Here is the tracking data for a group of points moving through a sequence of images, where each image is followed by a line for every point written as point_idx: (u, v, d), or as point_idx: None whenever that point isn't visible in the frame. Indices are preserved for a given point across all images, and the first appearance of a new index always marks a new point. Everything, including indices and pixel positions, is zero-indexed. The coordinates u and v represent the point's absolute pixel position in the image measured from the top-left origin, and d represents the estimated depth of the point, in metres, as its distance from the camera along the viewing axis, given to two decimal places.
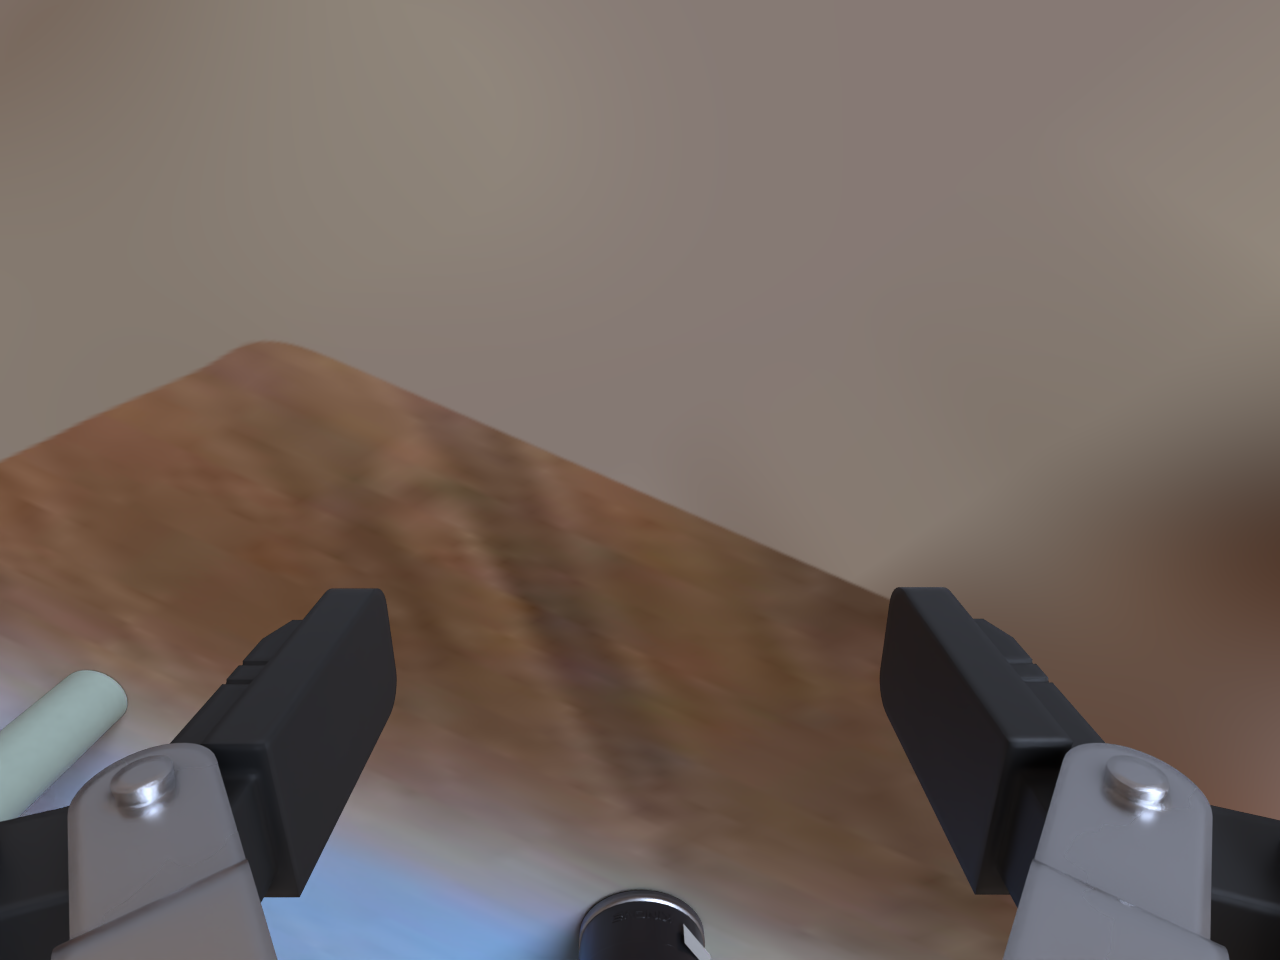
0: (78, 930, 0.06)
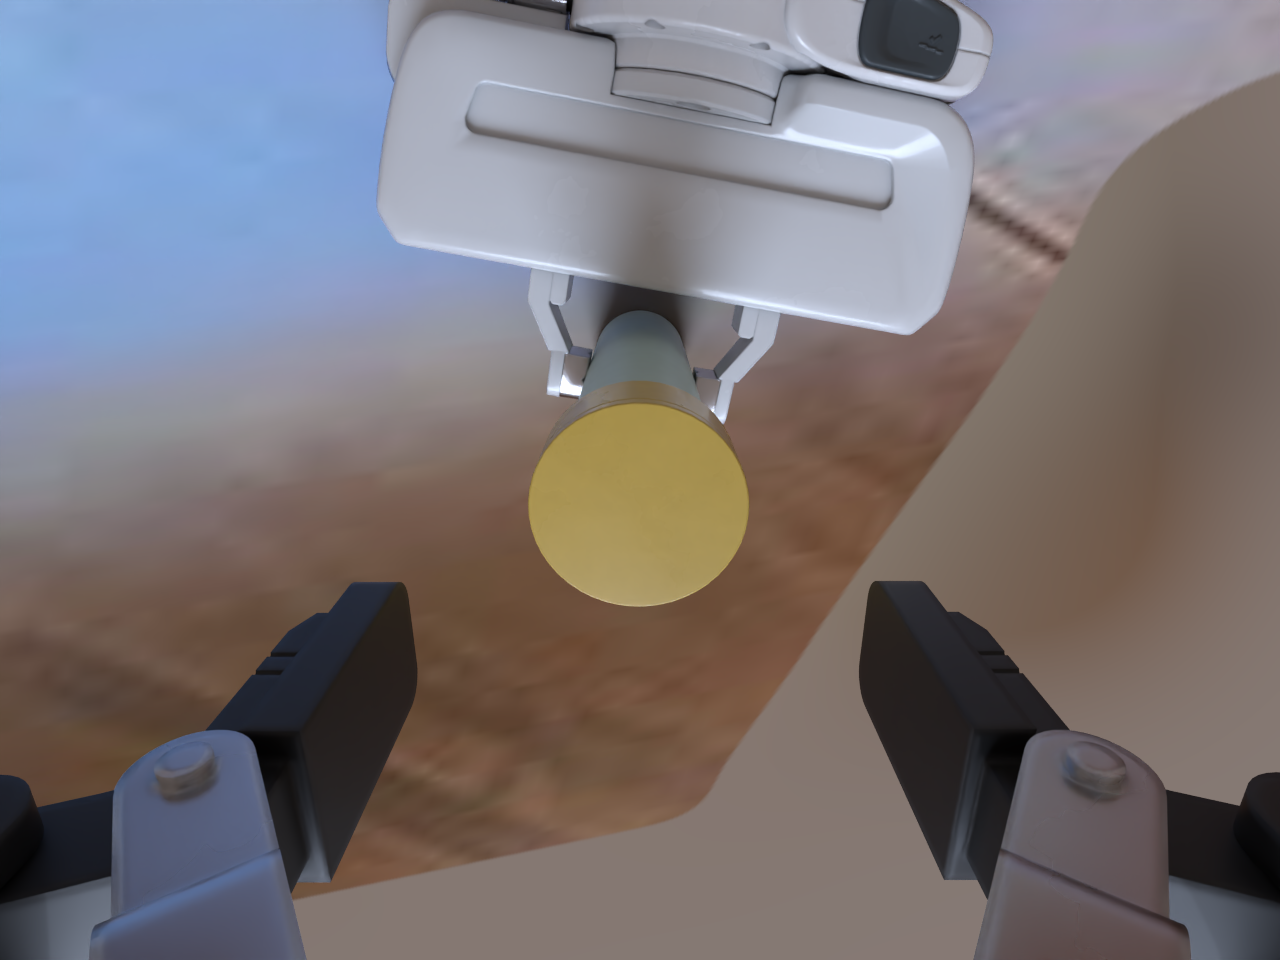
0: (119, 909, 0.06)
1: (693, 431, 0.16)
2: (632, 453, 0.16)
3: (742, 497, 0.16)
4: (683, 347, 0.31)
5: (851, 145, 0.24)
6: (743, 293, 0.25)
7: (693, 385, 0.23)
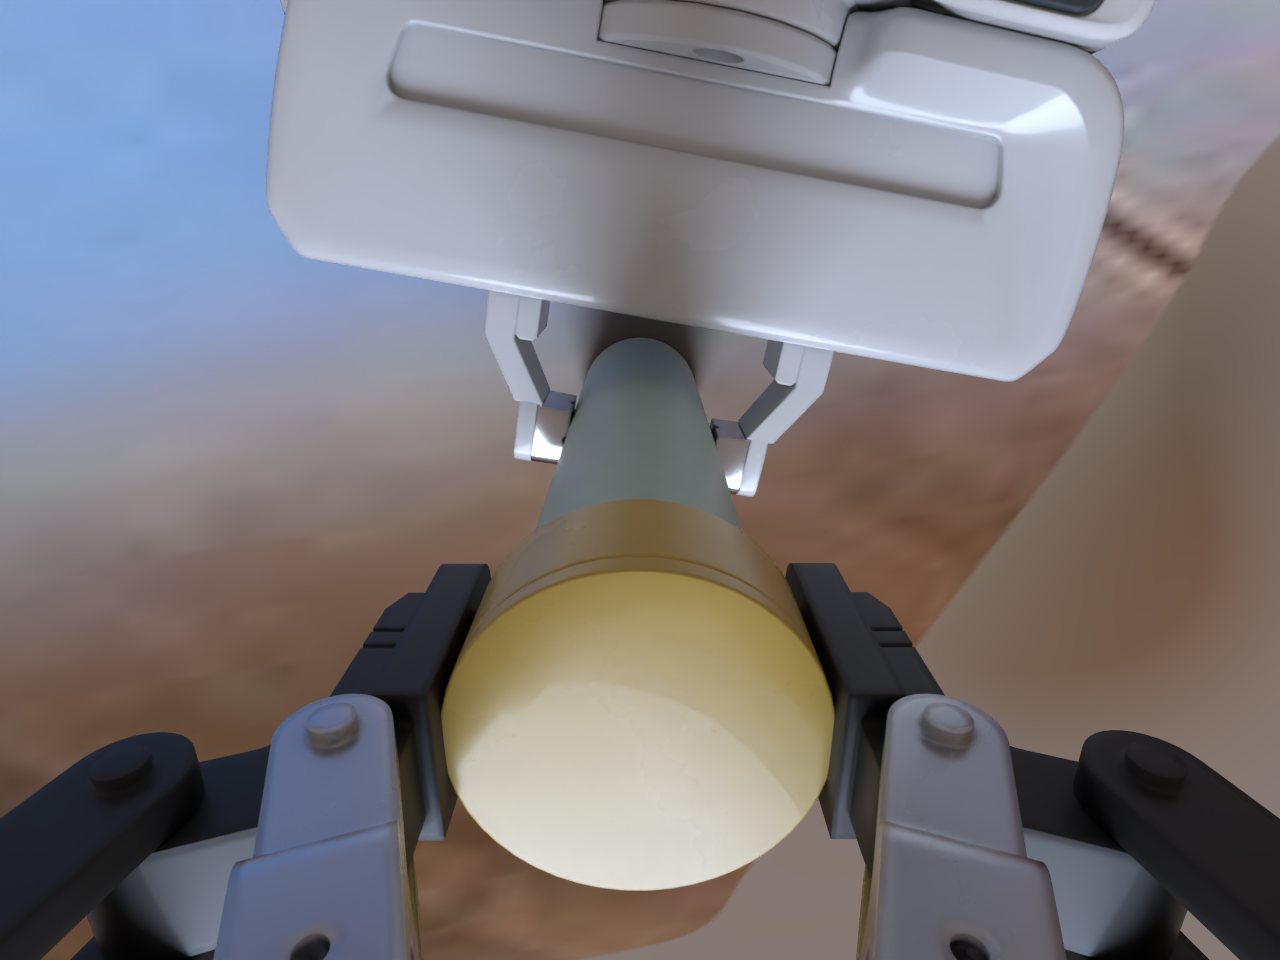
0: (261, 849, 0.06)
1: (739, 618, 0.08)
2: (626, 655, 0.09)
3: (825, 725, 0.09)
4: (696, 388, 0.23)
5: (945, 115, 0.16)
6: (784, 325, 0.18)
7: (718, 464, 0.16)
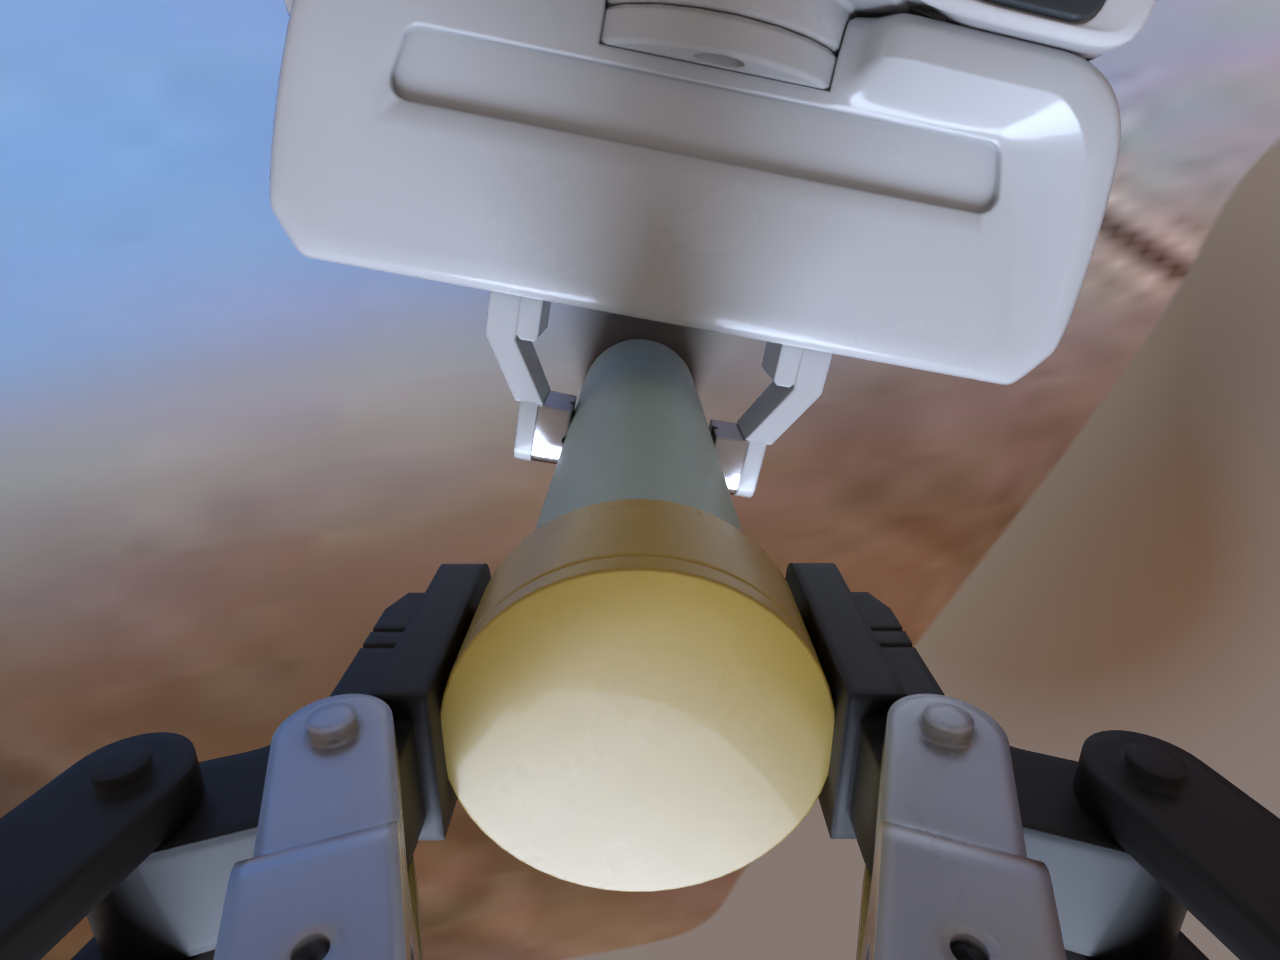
0: (261, 849, 0.06)
1: (480, 669, 0.09)
2: (530, 758, 0.09)
3: (603, 581, 0.08)
4: (695, 389, 0.24)
5: (944, 120, 0.16)
6: (783, 327, 0.18)
7: (717, 464, 0.16)
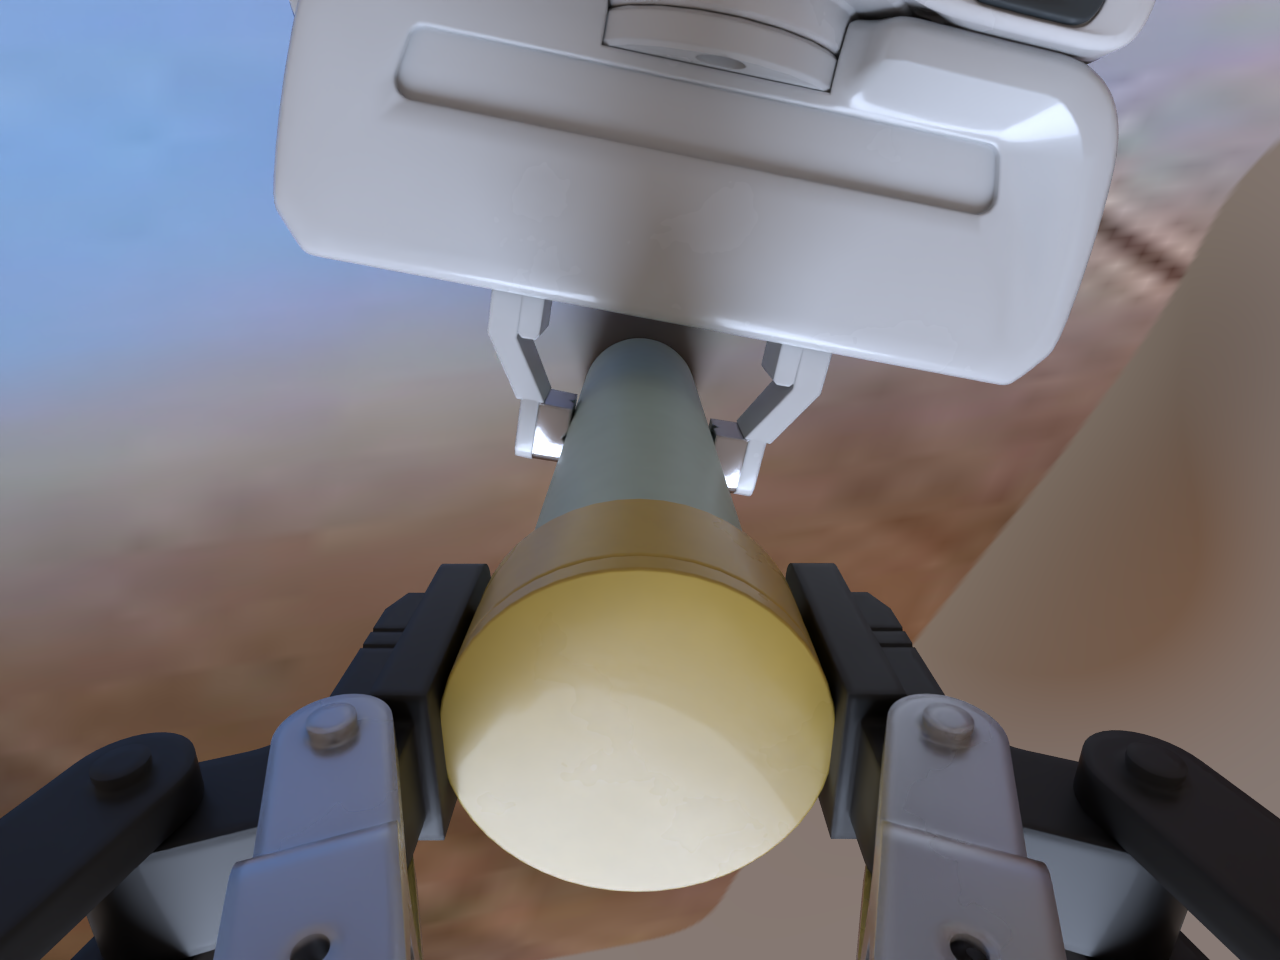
0: (260, 849, 0.06)
1: (557, 860, 0.10)
2: (653, 829, 0.10)
3: (457, 774, 0.09)
4: (695, 388, 0.24)
5: (944, 122, 0.17)
6: (783, 327, 0.18)
7: (716, 462, 0.16)
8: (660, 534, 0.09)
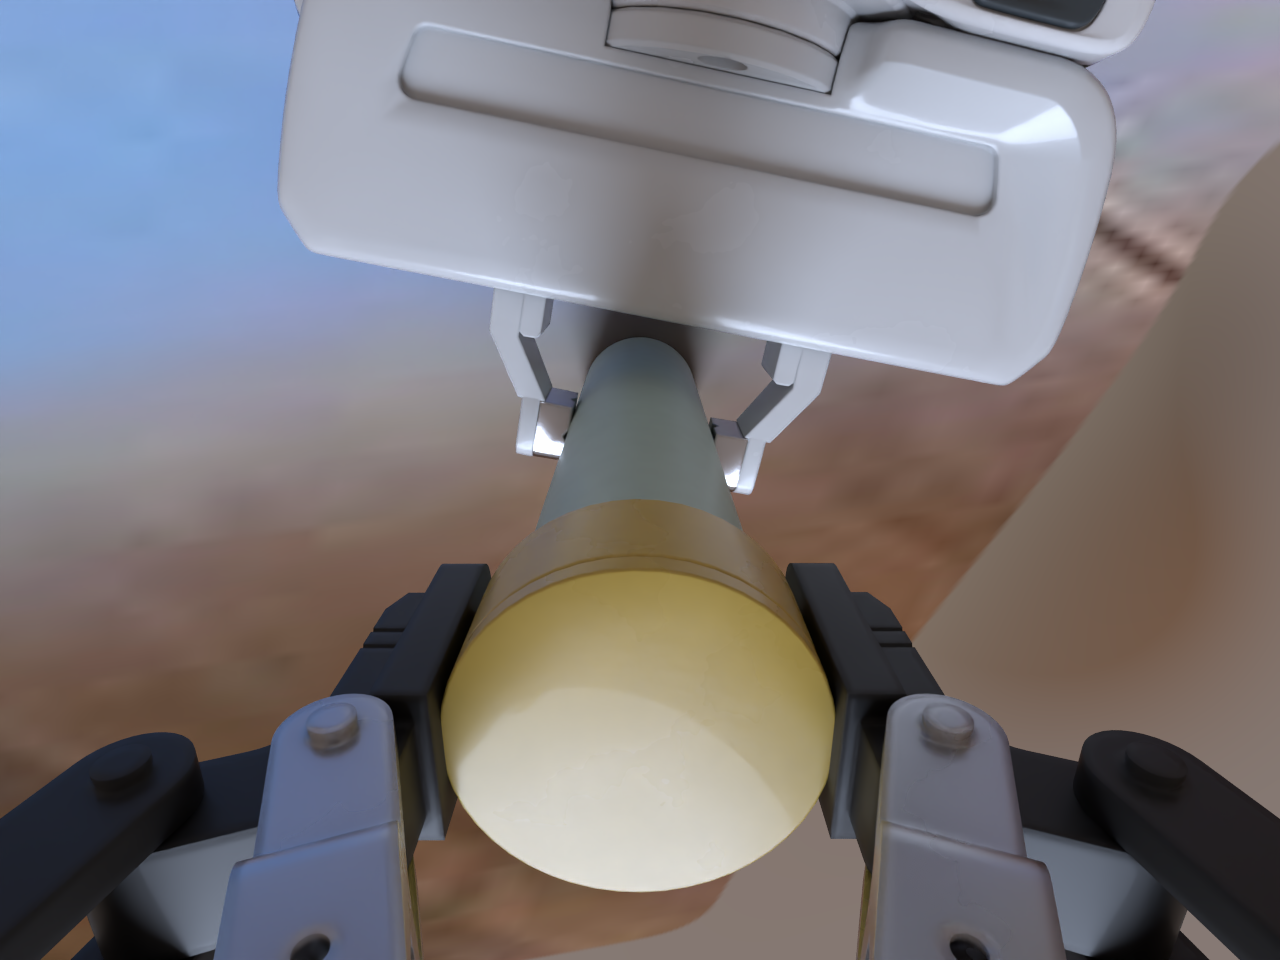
0: (261, 849, 0.06)
1: (787, 809, 0.09)
2: (745, 730, 0.09)
3: (676, 881, 0.10)
4: None
5: (943, 124, 0.17)
6: (783, 327, 0.18)
7: (716, 460, 0.16)
8: None
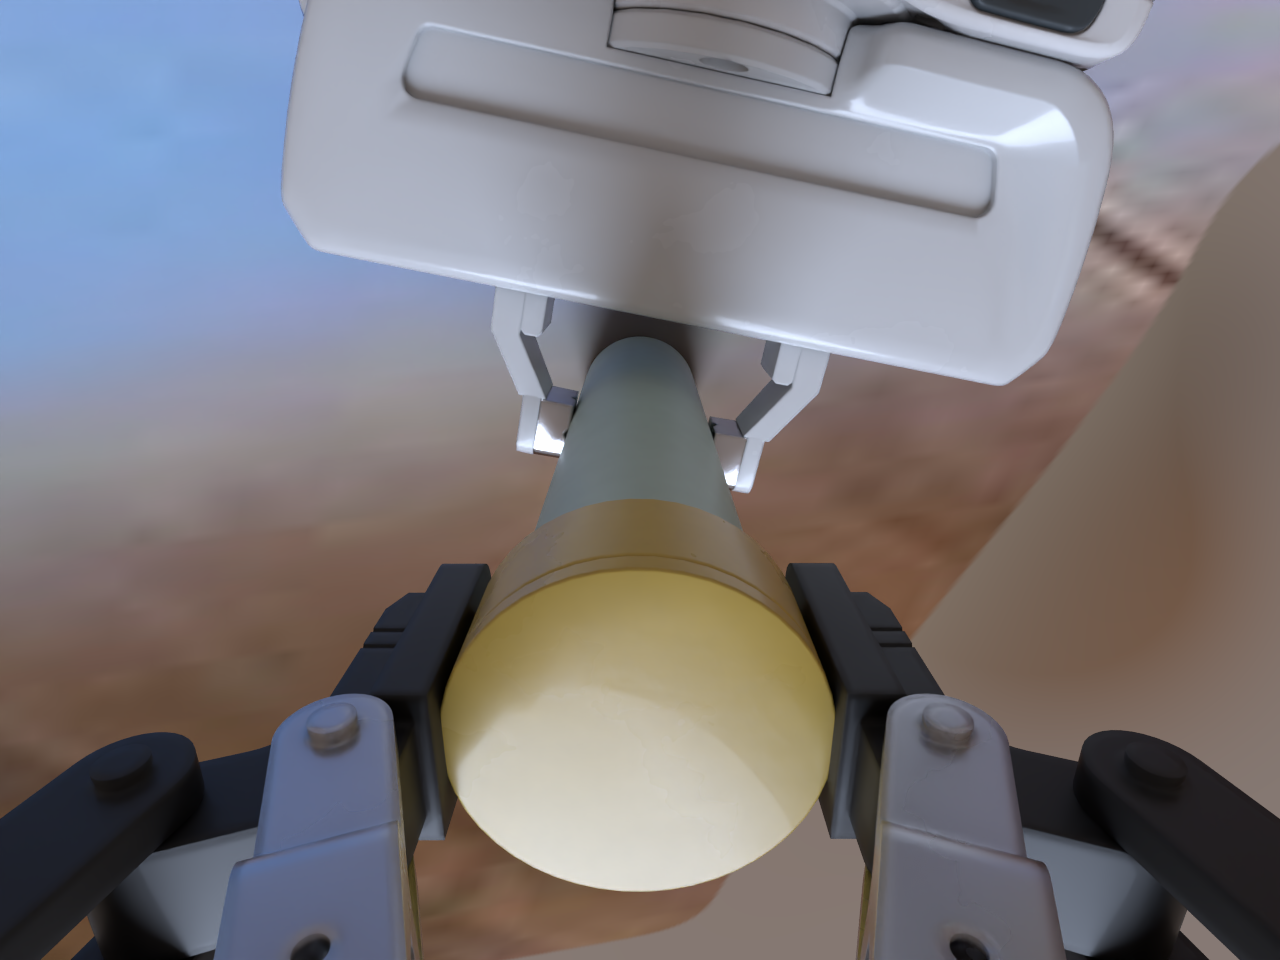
0: (261, 849, 0.06)
1: (719, 607, 0.08)
2: (612, 656, 0.09)
3: (822, 707, 0.09)
4: (695, 386, 0.24)
5: (941, 127, 0.17)
6: (783, 327, 0.19)
7: (716, 458, 0.16)
8: None
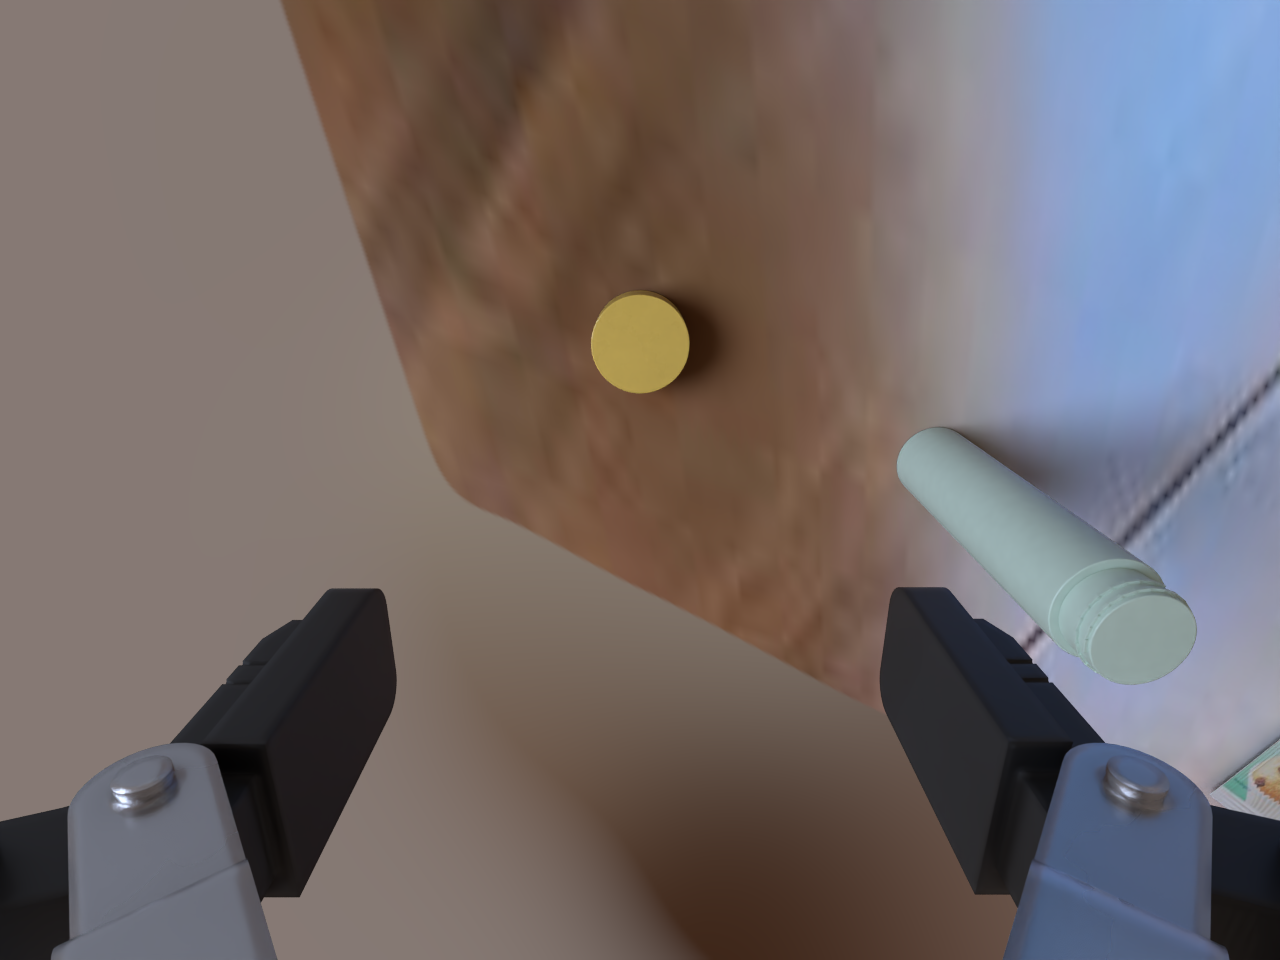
0: (79, 930, 0.06)
1: (659, 305, 0.36)
2: (634, 318, 0.36)
3: (685, 333, 0.36)
4: None
5: None
6: None
7: None
8: None
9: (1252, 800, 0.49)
